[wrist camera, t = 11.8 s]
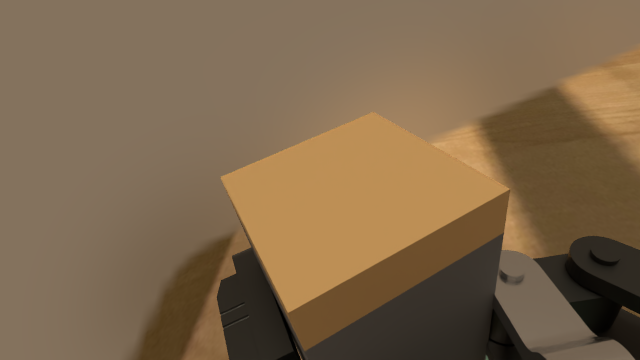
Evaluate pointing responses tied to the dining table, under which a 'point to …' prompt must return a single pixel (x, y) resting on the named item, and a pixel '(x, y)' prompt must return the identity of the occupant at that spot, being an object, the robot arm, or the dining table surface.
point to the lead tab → (375, 243)
